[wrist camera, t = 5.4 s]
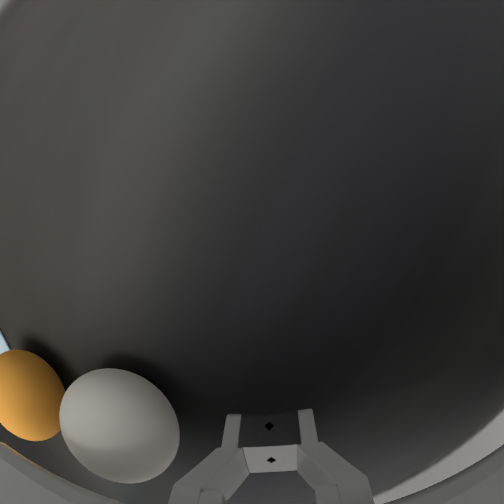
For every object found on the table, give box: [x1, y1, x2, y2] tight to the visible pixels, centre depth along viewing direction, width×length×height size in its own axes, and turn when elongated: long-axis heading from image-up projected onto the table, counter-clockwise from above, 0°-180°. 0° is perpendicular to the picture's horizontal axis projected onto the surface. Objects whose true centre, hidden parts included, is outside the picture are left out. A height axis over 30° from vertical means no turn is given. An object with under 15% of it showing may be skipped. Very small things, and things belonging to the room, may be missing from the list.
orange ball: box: [0, 349, 65, 441], centre depth 8 cm, size 5×5×5 cm
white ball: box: [59, 368, 180, 483], centre depth 8 cm, size 5×5×5 cm
